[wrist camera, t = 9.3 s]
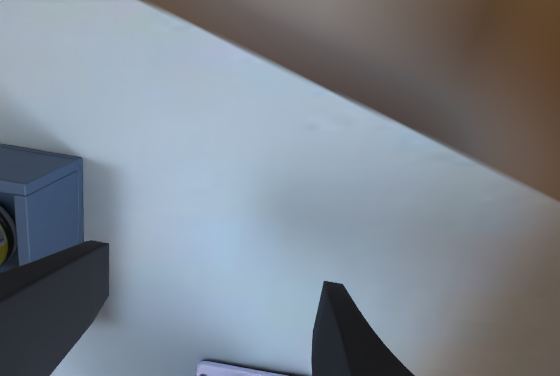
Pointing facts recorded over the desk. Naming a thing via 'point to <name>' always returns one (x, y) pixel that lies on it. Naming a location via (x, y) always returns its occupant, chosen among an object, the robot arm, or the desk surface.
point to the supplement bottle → (7, 236)
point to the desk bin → (41, 201)
